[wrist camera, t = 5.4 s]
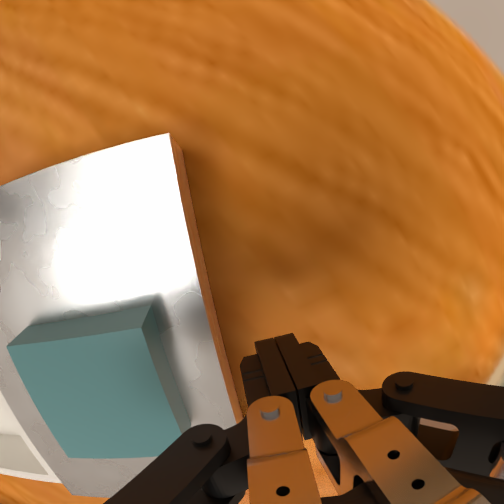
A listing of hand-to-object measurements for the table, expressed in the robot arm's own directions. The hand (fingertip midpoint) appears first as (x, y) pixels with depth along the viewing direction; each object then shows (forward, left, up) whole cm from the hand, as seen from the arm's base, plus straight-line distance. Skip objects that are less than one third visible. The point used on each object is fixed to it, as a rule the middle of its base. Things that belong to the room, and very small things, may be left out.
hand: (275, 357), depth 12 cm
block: (0, -7, -1) cm, 7 cm away
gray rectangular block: (0, -8, -7) cm, 11 cm away
